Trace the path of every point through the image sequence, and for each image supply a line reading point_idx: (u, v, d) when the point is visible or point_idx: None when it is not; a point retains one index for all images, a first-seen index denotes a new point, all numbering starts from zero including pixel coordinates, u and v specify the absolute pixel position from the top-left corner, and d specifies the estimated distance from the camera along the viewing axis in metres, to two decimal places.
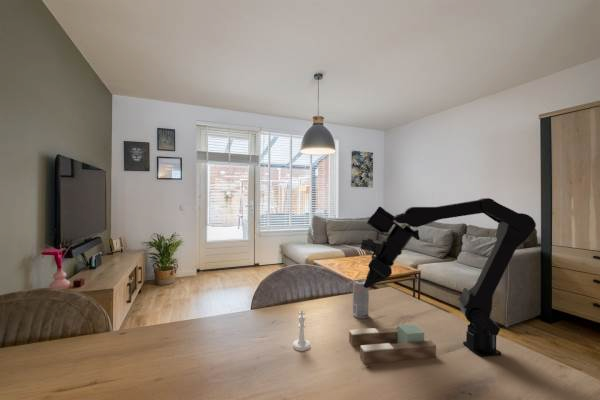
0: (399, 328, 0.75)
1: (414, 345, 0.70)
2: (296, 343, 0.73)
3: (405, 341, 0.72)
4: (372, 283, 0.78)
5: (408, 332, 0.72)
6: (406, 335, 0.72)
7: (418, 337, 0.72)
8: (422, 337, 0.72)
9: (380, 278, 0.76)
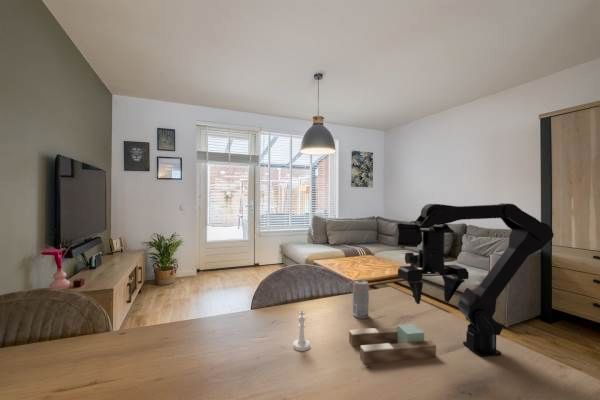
0: (399, 328, 0.75)
1: (414, 345, 0.70)
2: (296, 343, 0.73)
3: (405, 341, 0.72)
4: (416, 295, 0.74)
5: (408, 332, 0.72)
6: (406, 335, 0.72)
7: (418, 337, 0.72)
8: (422, 337, 0.72)
9: (416, 286, 0.73)
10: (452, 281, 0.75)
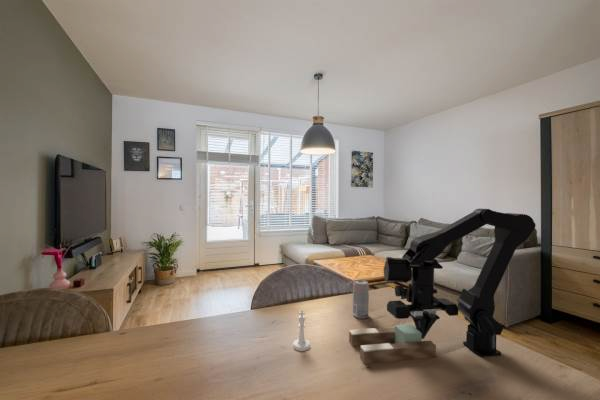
0: (396, 328, 0.75)
1: (414, 345, 0.70)
2: (296, 343, 0.73)
3: (402, 341, 0.72)
4: (420, 330, 0.74)
5: (405, 332, 0.72)
6: (403, 335, 0.72)
7: (415, 337, 0.72)
8: (419, 337, 0.72)
9: (419, 322, 0.73)
10: (427, 318, 0.73)
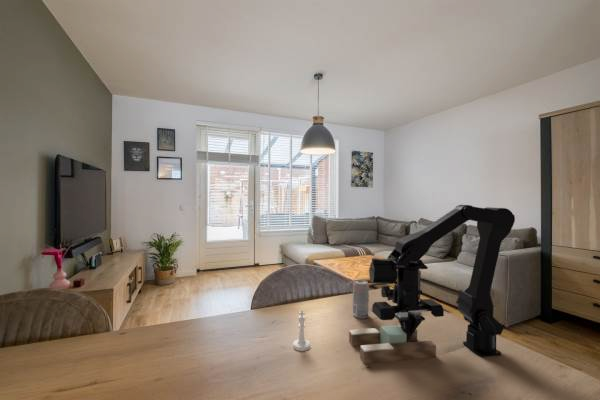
0: (382, 329, 0.74)
1: (414, 345, 0.70)
2: (296, 343, 0.73)
3: None
4: (405, 332, 0.73)
5: (390, 333, 0.71)
6: (388, 336, 0.71)
7: (400, 338, 0.71)
8: (404, 338, 0.71)
9: (404, 323, 0.72)
10: (412, 319, 0.73)
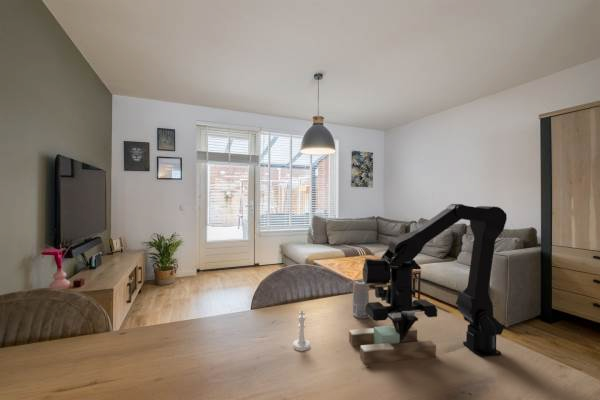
0: (375, 330, 0.74)
1: (414, 345, 0.70)
2: (296, 343, 0.73)
3: (380, 343, 0.71)
4: (398, 332, 0.73)
5: (383, 334, 0.71)
6: (381, 337, 0.71)
7: (393, 339, 0.71)
8: (397, 339, 0.71)
9: (397, 324, 0.72)
10: (406, 319, 0.72)
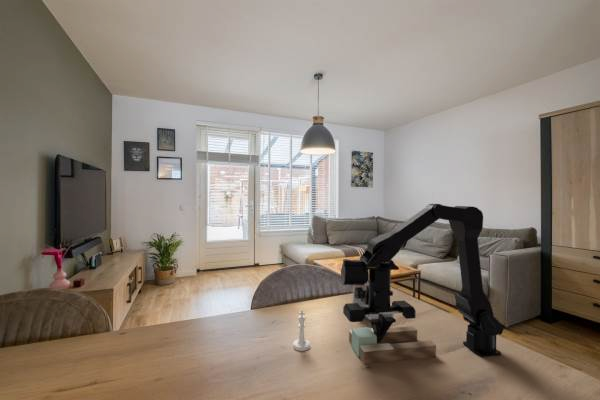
0: (353, 332, 0.73)
1: (414, 345, 0.70)
2: (296, 343, 0.73)
3: (357, 345, 0.70)
4: (376, 334, 0.72)
5: (360, 336, 0.70)
6: (358, 339, 0.70)
7: (370, 341, 0.70)
8: (374, 341, 0.70)
9: (375, 325, 0.71)
10: (383, 321, 0.71)
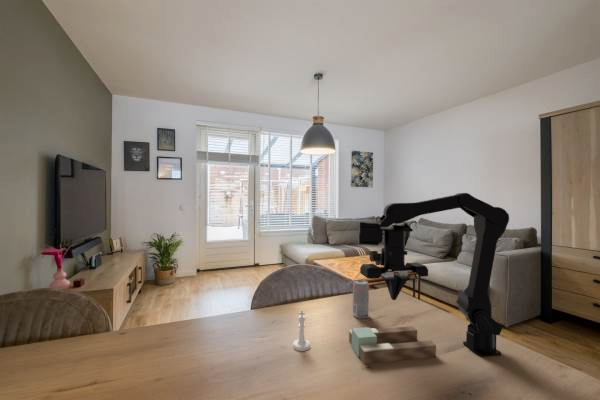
0: (353, 332, 0.73)
1: (414, 345, 0.70)
2: (296, 343, 0.73)
3: (357, 345, 0.70)
4: (391, 291, 0.76)
5: (360, 336, 0.70)
6: (358, 339, 0.70)
7: (370, 341, 0.70)
8: (374, 341, 0.70)
9: (390, 283, 0.75)
10: (398, 279, 0.76)
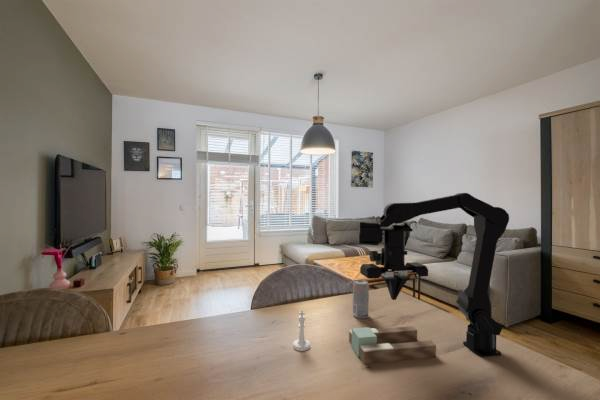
0: (353, 332, 0.73)
1: (414, 345, 0.70)
2: (296, 343, 0.73)
3: (357, 345, 0.70)
4: (391, 291, 0.76)
5: (360, 336, 0.70)
6: (358, 339, 0.70)
7: (370, 341, 0.70)
8: (374, 341, 0.70)
9: (390, 282, 0.76)
10: (398, 279, 0.76)
